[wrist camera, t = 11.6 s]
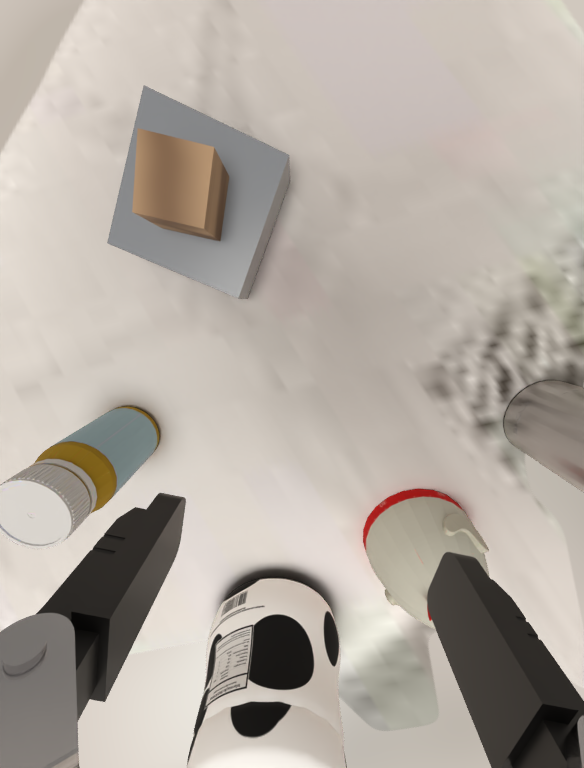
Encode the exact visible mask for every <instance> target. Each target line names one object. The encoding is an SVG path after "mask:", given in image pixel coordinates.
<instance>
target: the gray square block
mask: <svg viewBox="0 0 584 768" xmlns="http://www.w3.org/2000/svg"><path fill="white" fill-rule="evenodd" d="M138 128H139V129H143V130H147V131H151V132H156V133H160V134H164V135H168V136H172V137H176V138H180V139H184V140H188V141H192V142H196V143H200V144H204V145H208V146H212V147H214V148H215V150H216V152H217V154H218V155H219V157H220V159H221V161H222V163H223V165H224V167H225V169H226V171H227V173H228V175H229V182H228V190H227V197H226V204H225V211H224V219H223V226H222V233H221V240H220V241H215V240H211V239H207V238H202V237H198V236H193V235H189V234H185V233H180V232H176V231H172V230H167V229H163V228H161V227H159V226H157V225H155V224H153V223H151V222H149V221H148V220H146V219H144V218H142V217H140V216H138V215H137V214H135V213H133V212H132V208H133V192H134V177H135V161H136V146H137V131H138ZM289 183H290V168H289V155H288V154H286V153H284V152H282V151H279V150H277V149H275V148H273V147H271V146H269V145H267V144H265V143H263V142H261V141H259V140H257V139H254V138H252V137H250V136H248V135H246V134H244V133H242V132H240V131H238V130H236V129H234V128H232V127H230V126H227V125H225V124H223V123H221V122H219V121H217V120H215V119H213V118H211V117H209V116H207V115H205V114H203V113H200V112H198V111H196V110H194V109H192V108H190V107H188V106H186V105H184V104H182V103H180V102H178V101H176V100H173V99H171V98H169V97H167V96H165V95H163V94H161V93H159V92H157V91H155V90H153V89H151V88H148V87H146V86H143V91H142V95H141V99H140V104H139V108H138V112H137V117H136V121H135V125H134V130H133V134H132V138H131V143H130V147H129V151H128V156H127V160H126V164H125V169H124V173H123V177H122V182H121V186H120V190H119V195H118V199H117V203H116V208H115V212H114V216H113V221H112V225H111V229H110V234H109V238H108V242H107V243H108V244H110V245H113V246H115V247H118V248H120V249H122V250H125V251H127V252H129V253H132V254H134V255H136V256H139V257H141V258H143V259H146V260H148V261H151V262H153V263H155V264H158V265H160V266H162V267H165V268H167V269H169V270H172V271H174V272H177V273H179V274H181V275H184V276H186V277H188V278H191V279H193V280H195V281H198V282H200V283H202V284H205V285H207V286H210V287H212V288H214V289H217V290H219V291H221V292H224V293H226V294H228V295H231V296H233V297H236V298H238V299H248V296H249V293H250V290H251V288H252V285H253V282H254V279H255V277H256V274H257V271H258V268H259V266H260V263H261V260H262V257H263V255H264V252H265V249H266V246H267V244H268V241H269V238H270V235H271V232H272V230H273V227H274V224H275V221H276V219H277V216H278V213H279V210H280V208H281V205H282V202H283V199H284V197H285V194H286V191H287V188H288V186H289Z"/></svg>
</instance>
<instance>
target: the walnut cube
mask: <svg viewBox="0 0 584 768" xmlns="http://www.w3.org/2000/svg"><path fill="white" fill-rule="evenodd" d="M228 182H229V175H228V173H227V171H226V169H225V167H224V165H223V163H222V161H221V159H220V157H219V155H218V154H217V152H216V150H215V148H214V147H212V146H208V145H204V144H200V143H196V142H192V141H188V140H184V139H180V138H176V137H172V136H168V135H164V134H160V133H156V132H151V131H147V130H143V129H139V128H138V131H137V146H136V161H135V177H134V192H133V208H132V212H133V213H135V214H137V215H138V216H140V217H142V218H144V219H146V220H148V221H149V222H151V223H153V224H155V225H157V226H159V227H161V228H163V229H167V230H172V231H176V232H180V233H185V234H189V235H193V236H198V237H202V238H207V239H211V240H215V241H220V240H221V233H222V226H223V219H224V211H225V204H226V197H227V190H228Z"/></svg>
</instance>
